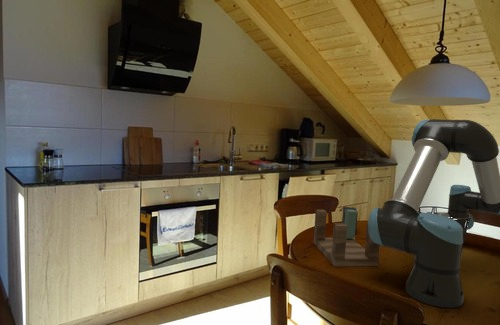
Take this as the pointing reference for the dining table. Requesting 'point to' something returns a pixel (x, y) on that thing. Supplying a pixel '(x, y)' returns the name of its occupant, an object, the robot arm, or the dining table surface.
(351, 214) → the green rectangular block
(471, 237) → the dining table surface
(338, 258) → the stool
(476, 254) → the dining table surface
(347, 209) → the small box
